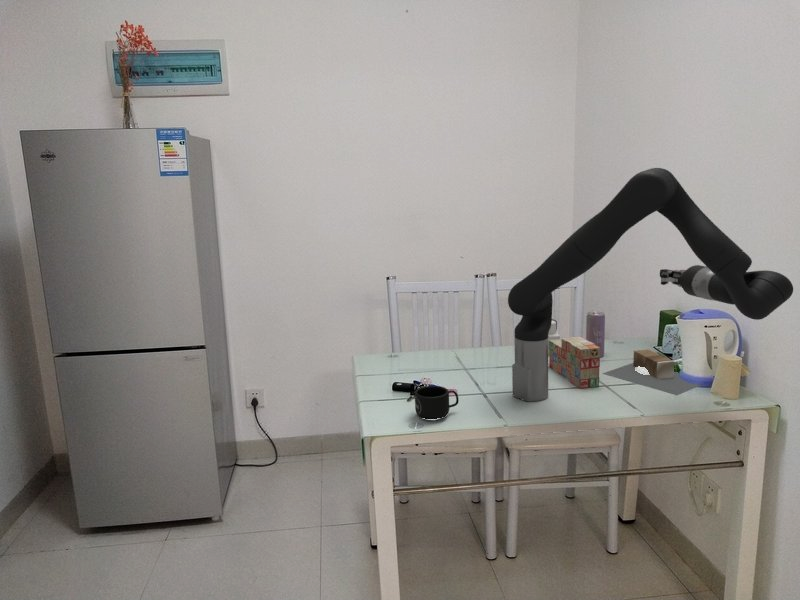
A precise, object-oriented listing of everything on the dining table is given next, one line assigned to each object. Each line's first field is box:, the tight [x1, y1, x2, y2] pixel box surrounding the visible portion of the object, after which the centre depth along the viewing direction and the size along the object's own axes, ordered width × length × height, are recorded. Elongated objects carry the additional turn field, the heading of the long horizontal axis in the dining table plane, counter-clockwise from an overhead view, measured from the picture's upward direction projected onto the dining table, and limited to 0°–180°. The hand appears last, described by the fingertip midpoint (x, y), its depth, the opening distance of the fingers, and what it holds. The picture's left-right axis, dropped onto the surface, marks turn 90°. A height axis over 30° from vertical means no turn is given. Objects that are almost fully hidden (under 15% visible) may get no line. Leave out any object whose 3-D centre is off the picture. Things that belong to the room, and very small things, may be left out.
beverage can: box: [585, 311, 606, 358], centre depth 185 cm, size 6×6×15 cm
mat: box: [602, 362, 701, 396], centre depth 163 cm, size 20×24×1 cm
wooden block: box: [632, 349, 675, 379], centre depth 166 cm, size 5×5×13 cm
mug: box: [414, 385, 459, 420], centre depth 143 cm, size 12×9×7 cm
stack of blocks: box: [548, 336, 601, 390], centre depth 166 cm, size 21×6×12 cm, turn 9°
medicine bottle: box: [548, 318, 561, 356], centre depth 192 cm, size 7×7×12 cm
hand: (662, 273), depth 144 cm, fingers closed
